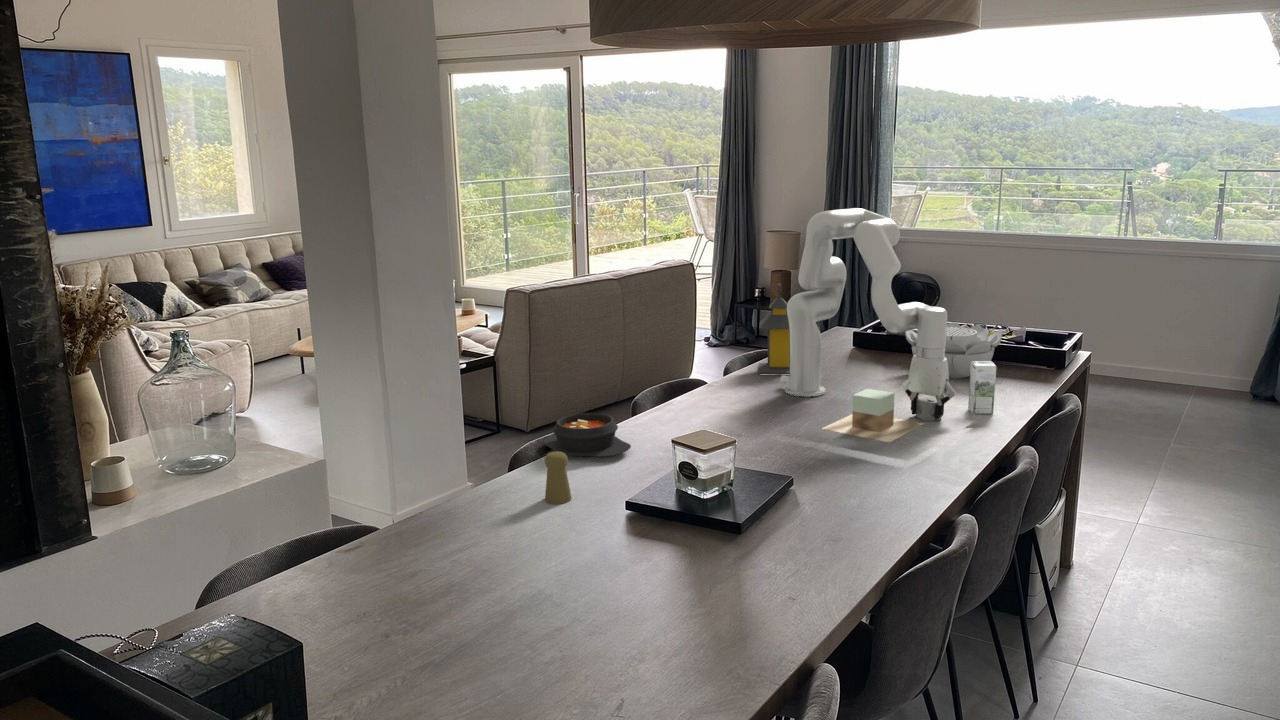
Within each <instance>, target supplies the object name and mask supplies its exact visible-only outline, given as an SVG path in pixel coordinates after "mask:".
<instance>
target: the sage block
mask: <svg viewBox="0 0 1280 720" xmlns="http://www.w3.org/2000/svg"><path fill="white" fill-rule="evenodd" d="M893 409H894V410H895V392H892V391H891V392H890V391H886V390H885V391H884V390H879V389H878V390H877V389H871V388H865V389H863V390H861V391H858V392H856V393H854V394H853V395H852V411H855V412H860V413H866V414H871V415H877V416H881V415H883V414H885V413H887V412H889V411H891V410H893Z"/></svg>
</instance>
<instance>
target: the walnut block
mask: <svg viewBox="0 0 1280 720" xmlns="http://www.w3.org/2000/svg"><path fill="white" fill-rule="evenodd" d="M851 414H852V427H854V428H859V429H865V430H870V431H875V432H881V431H883V430H885V429H887V428H889V427H891V426H892V425H893V420H894V418H895V417H894V416H895V415H894V414H895V408H894V409H893V410H891V411H889V412H887V413H885V414H883V415H881V416H877V415H871V414H866V413H860V412H855V411H853V410H851Z"/></svg>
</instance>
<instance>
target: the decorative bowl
mask: <svg viewBox="0 0 1280 720" xmlns="http://www.w3.org/2000/svg"><path fill="white" fill-rule="evenodd" d="M904 333H905V334H904V335H905V339H906V341H907V342H908V343H909V344H910V346H911V347H912V346H916V345H917V332H915V331H914V330H908V331H904ZM989 333H990V332H989V329H984V327H983V326H981V325H980V324H977V325H973V326H971V327H969V328H967V327H962V326H961V325H960V324H959V323H957V322H954V321H952V322H949V323H947V330H946V346H945V358H947V362H948V371H949V379H963V378H968V377H970V369H971V361H991V362H992V359H993V356H994V354H995V353H994V352H995V348H996V347H998V346H999V345H1000V343H1002V339H1003V329H998V330H996V331H995V332H993V333H991V334H990V335H989ZM911 350H912V349H911ZM912 355H913V356H914V355H916V354H915V351H913V350H912ZM913 356H912V357H913Z"/></svg>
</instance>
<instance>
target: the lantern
mask: <svg viewBox="0 0 1280 720" xmlns="http://www.w3.org/2000/svg"><path fill="white" fill-rule="evenodd" d="M787 304H788V301H786V300H785V299H784V298H783V297H782V283H778V284H777V297H776V298H775V299H774V300H773V301H772V302H770V304H769V306H768V309H769V310H770V309H771V311H770V312H769V313H768V314H767V315H766V316H765V317H764V318H763V319H762V320H760V321H759V326H758V328H759V329H760V330H767V362H759V363H758V375H759V374H790V327H789V320H788V315H787Z"/></svg>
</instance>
